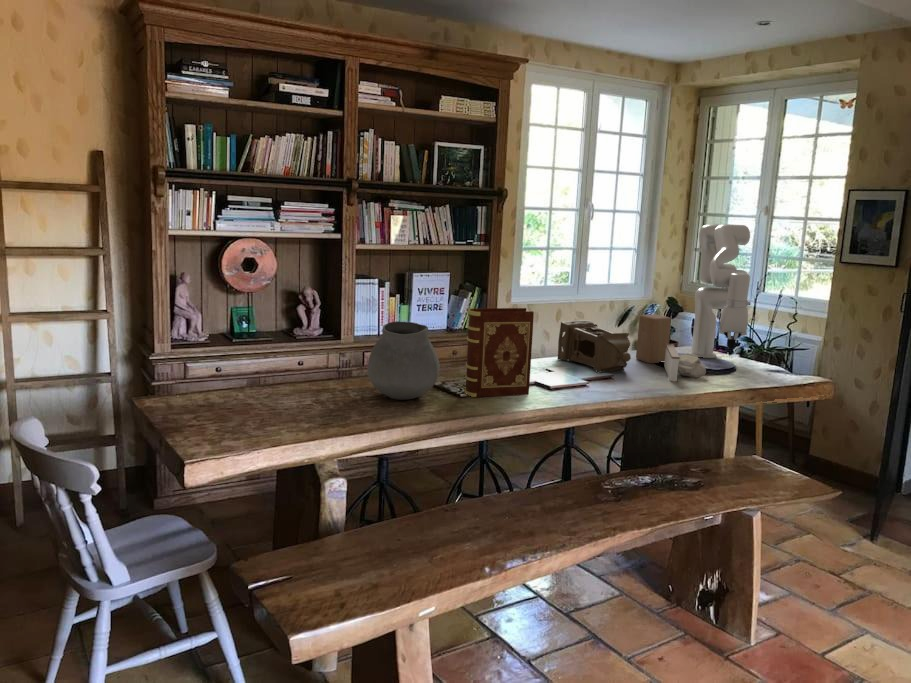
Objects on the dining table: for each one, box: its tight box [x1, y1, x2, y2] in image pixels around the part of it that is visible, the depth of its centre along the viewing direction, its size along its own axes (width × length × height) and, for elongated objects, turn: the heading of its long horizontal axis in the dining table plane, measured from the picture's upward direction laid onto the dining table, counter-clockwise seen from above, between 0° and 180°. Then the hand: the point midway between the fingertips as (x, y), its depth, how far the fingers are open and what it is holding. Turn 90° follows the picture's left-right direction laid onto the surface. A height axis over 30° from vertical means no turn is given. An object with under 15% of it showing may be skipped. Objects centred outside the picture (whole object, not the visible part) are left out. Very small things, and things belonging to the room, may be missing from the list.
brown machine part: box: [557, 319, 632, 373], centre depth 307 cm, size 35×18×18 cm, turn 30°
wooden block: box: [635, 313, 672, 364], centre depth 323 cm, size 10×10×20 cm
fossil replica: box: [678, 354, 707, 379], centre depth 299 cm, size 12×8×10 cm
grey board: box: [663, 343, 680, 382], centre depth 301 cm, size 27×3×10 cm, turn 169°
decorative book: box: [464, 307, 535, 398], centre depth 259 cm, size 22×8×30 cm, turn 106°
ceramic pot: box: [367, 320, 441, 401], centre depth 250 cm, size 24×24×25 cm
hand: (730, 348), depth 298 cm, fingers closed
